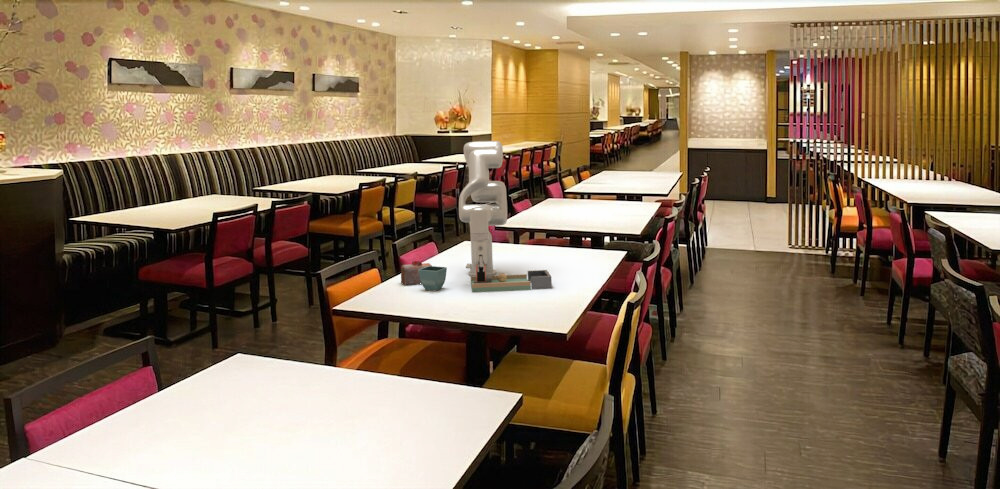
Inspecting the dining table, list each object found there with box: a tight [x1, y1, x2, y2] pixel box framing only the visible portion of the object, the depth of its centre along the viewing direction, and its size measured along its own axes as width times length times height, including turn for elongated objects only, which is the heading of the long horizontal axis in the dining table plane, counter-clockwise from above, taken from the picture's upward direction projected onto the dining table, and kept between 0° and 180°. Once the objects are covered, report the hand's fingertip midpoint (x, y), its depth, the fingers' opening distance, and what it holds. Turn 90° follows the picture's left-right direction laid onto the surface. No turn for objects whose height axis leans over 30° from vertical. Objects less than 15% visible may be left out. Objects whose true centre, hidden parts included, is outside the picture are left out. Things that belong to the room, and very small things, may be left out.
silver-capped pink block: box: [474, 264, 492, 284], centre depth 316 cm, size 7×4×8 cm, turn 94°
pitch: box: [470, 273, 532, 293], centre depth 317 cm, size 24×15×3 cm, turn 94°
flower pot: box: [419, 265, 448, 292], centre depth 315 cm, size 9×9×9 cm
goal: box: [527, 269, 553, 290], centre depth 318 cm, size 8×13×5 cm, turn 4°
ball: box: [497, 272, 507, 282], centre depth 316 cm, size 4×4×4 cm
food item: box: [400, 260, 433, 286], centre depth 328 cm, size 14×8×10 cm, turn 114°
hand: (480, 279), depth 316 cm, fingers closed on silver-capped pink block, 4 cm apart
